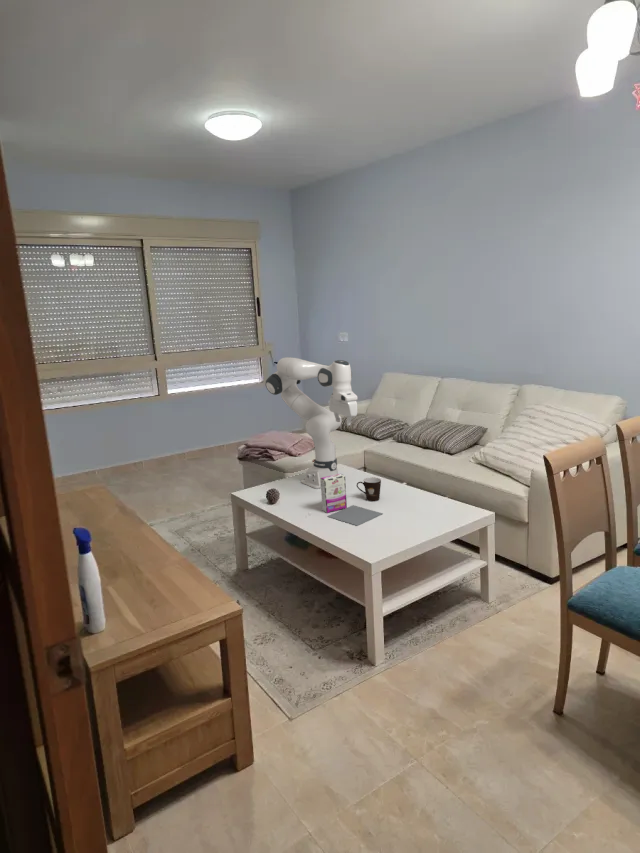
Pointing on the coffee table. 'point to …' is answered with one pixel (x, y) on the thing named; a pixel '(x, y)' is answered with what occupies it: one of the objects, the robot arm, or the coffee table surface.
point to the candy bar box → (333, 493)
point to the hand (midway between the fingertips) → (343, 423)
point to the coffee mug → (371, 488)
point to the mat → (355, 515)
